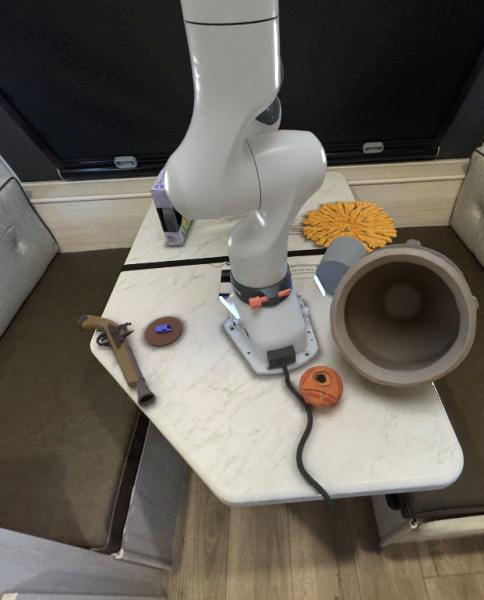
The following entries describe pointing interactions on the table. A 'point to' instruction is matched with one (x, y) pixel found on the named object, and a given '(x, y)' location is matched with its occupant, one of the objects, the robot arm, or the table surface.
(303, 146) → the robot arm
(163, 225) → the cake pan box
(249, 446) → the table surface
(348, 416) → the table surface
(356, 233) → the coral
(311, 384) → the pot
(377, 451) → the table surface
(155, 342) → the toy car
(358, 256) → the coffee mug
